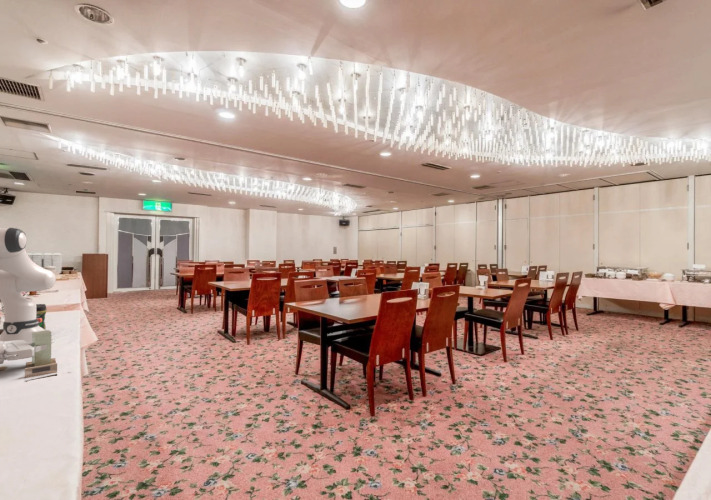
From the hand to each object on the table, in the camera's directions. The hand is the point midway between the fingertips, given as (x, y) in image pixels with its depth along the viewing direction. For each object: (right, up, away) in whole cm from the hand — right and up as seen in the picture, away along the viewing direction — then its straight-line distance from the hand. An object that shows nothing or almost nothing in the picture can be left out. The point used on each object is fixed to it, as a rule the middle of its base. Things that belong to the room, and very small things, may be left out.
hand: (44, 345), depth 141 cm
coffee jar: (-48, -9, +46) cm, 67 cm away
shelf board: (+3, -8, -5) cm, 10 cm away
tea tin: (-1, -7, -1) cm, 7 cm away
